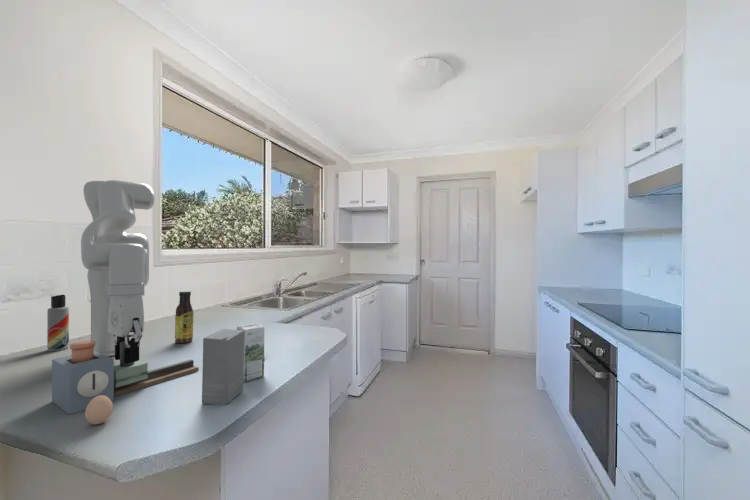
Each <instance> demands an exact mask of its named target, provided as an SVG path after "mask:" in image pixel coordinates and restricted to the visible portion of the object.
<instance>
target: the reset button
mask: <svg viewBox="0 0 750 500" xmlns="http://www.w3.org/2000/svg"><path fill="white" fill-rule="evenodd" d="M95 345H96V341H91V340H81V341H76V342H73V343H70V344H69V349H70V350H71V355H72V364H75V363H80V362H84V361H89V360H93V359H94V346H95Z"/></svg>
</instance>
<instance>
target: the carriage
mask: <svg viewBox="0 0 750 500" xmlns="http://www.w3.org/2000/svg"><path fill="white" fill-rule="evenodd" d="M124 348H126V344H125V341H123V342H120V360H119V363H116V364H114V387H116V388H117V387H120V386H124V385H127V384H131V383H134V382H137V381H141V380H144V379H148V371H149V370H148V367H149V366H148V362H145V361H143V360H140V359H139V361H136V362H132V363H128V364H125V363H124Z"/></svg>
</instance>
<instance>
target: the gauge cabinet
mask: <svg viewBox="0 0 750 500" xmlns="http://www.w3.org/2000/svg"><path fill="white" fill-rule="evenodd" d="M114 363H115V358H113V357H112V356H109V357H108V356H106V355H103V354H101V353H98V352H96V351H94V359H93V360H89V361H84V362H80V363H75V364H72V354H71V355H68V356H63V357H56V358H52V359H51V402H52V403H53V404H55V405H56V406H57V407H59V408H60V409H61V410H63V411H64V412H65V413H67V414H68V415H73V414H76V413H80V412H82V411H86V408H87V406H88V404H89V402H90V401H91V400H92V399H93V398H95V397H96V396H99V395H104V396H107V397H108V398H109V399H110V400H111V401H112V402H114V401H115V398H114V365H115V364H114Z"/></svg>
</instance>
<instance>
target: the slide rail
mask: <svg viewBox="0 0 750 500" xmlns="http://www.w3.org/2000/svg"><path fill="white" fill-rule="evenodd" d="M194 363H195V361H194V360H193V359H188V360H184V361H179V362H177V363H176V362H175V363H173V364H169V365H166V366H162V367H159V368H155V369H151V370H148V379H144V380H141V381H137V382H134V383H131V384H127V385H124V386H120V387H117V388H116V387H114V397H117V396H120V395H124V394H128V393H130V392H134V391H137V390H140V389H144V388H146V387H149V386H153V385H157V384H160V383H162V382H166V381H169V380H173V379H176V378H179V377H182V376H183V377H184V376H186V375H189V374H192V373H196V372H198V371H199V366H196V365H194Z"/></svg>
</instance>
